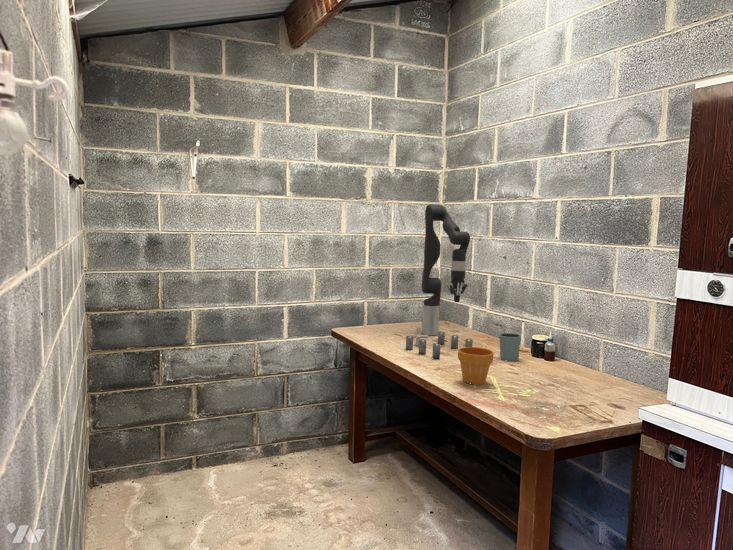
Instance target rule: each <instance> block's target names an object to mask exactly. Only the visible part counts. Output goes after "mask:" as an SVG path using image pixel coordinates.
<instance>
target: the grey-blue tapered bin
mask: <svg viewBox="0 0 733 550" xmlns="http://www.w3.org/2000/svg"><path fill="white" fill-rule="evenodd" d="M498 335H499V336H498V339H499V357H500V358H501V359H502V361H504V360H507V361H506V362H517V360H518V361H519V359H520V358H519V356H520V349H521V348H520V347H521V341H522V335H521V334H520V333H513V332H503V333H501V332H500V333H499V334H498ZM501 359H500V360H501Z"/></svg>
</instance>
